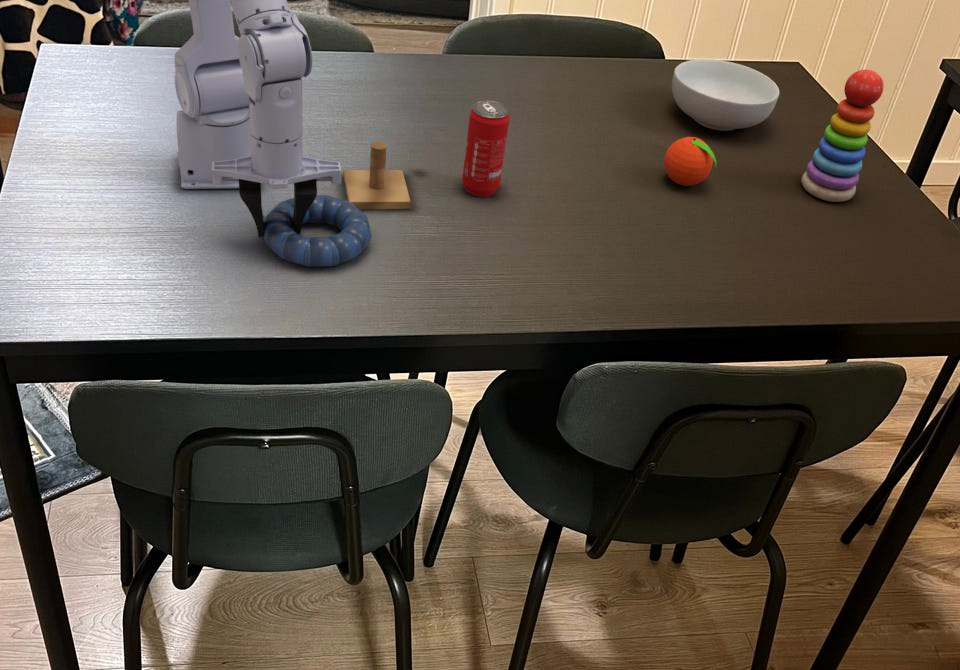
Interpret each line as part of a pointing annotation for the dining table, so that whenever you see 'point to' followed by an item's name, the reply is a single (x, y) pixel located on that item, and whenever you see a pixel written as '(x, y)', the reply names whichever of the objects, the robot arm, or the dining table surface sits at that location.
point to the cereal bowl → (723, 94)
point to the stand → (377, 184)
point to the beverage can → (485, 148)
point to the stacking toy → (844, 141)
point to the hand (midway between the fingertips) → (278, 232)
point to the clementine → (688, 161)
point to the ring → (318, 249)
